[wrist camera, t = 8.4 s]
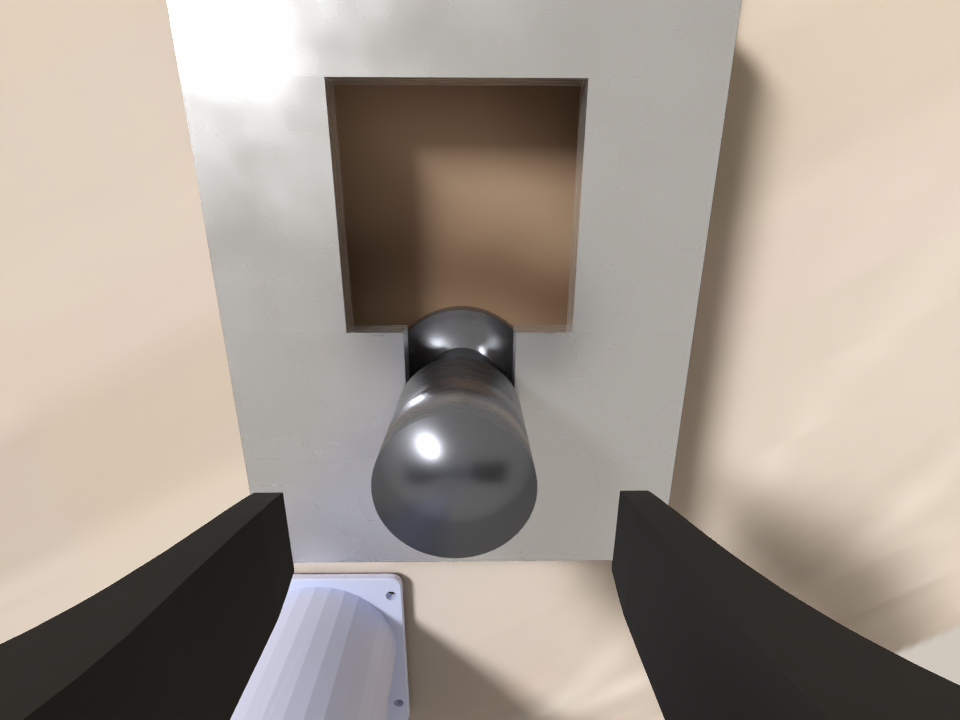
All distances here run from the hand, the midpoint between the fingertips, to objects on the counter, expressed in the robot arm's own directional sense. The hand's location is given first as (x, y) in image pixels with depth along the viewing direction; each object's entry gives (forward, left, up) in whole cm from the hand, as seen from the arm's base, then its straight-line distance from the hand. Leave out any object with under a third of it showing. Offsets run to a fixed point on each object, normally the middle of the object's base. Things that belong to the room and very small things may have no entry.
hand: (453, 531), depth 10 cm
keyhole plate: (+4, 0, -9) cm, 10 cm away
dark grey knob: (0, 0, -9) cm, 9 cm away
